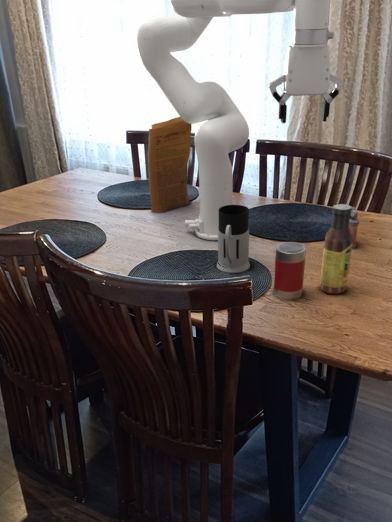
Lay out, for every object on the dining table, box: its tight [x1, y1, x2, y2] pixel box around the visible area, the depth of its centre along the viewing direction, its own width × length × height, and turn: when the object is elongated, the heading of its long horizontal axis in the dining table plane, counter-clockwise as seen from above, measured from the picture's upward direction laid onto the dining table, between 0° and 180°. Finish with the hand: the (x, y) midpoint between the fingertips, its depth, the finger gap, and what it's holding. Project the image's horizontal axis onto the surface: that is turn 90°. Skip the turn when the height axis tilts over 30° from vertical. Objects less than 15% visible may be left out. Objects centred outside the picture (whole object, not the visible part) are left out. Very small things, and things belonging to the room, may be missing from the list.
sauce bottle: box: [319, 203, 353, 295], centre depth 121 cm, size 6×6×20 cm
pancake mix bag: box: [147, 116, 193, 213], centre depth 171 cm, size 7×19×28 cm, turn 131°
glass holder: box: [216, 204, 251, 274], centre depth 132 cm, size 9×14×15 cm, turn 167°
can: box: [273, 241, 307, 301], centre depth 122 cm, size 7×7×12 cm
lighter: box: [349, 206, 360, 250], centre depth 146 cm, size 8×3×10 cm, turn 5°
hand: (303, 121), depth 127 cm, fingers open, 9 cm apart
